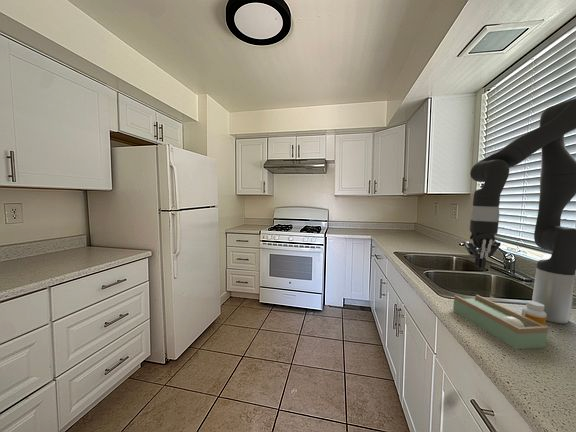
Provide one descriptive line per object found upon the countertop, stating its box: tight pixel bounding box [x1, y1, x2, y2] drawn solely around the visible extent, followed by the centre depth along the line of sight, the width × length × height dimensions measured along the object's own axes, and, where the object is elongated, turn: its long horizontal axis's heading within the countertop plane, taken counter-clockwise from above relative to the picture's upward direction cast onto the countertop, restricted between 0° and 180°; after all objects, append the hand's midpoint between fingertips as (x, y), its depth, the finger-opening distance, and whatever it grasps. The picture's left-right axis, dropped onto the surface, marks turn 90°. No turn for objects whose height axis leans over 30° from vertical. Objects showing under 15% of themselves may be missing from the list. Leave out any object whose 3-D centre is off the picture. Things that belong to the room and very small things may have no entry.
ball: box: [501, 316, 525, 327], centre depth 73 cm, size 6×6×6 cm
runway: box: [452, 294, 549, 350], centre depth 78 cm, size 10×22×6 cm, turn 8°
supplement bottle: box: [521, 300, 547, 326], centre depth 76 cm, size 5×5×10 cm
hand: (479, 268), depth 84 cm, fingers closed
